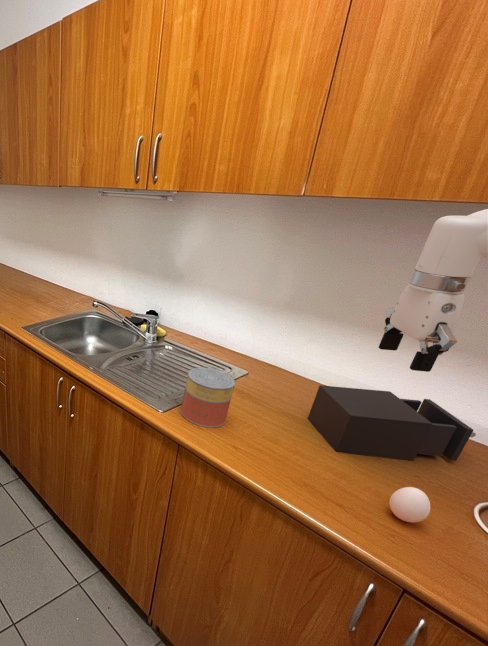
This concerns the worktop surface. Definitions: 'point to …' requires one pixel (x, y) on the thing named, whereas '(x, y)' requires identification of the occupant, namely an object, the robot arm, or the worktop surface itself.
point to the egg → (410, 504)
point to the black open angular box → (441, 430)
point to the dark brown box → (368, 422)
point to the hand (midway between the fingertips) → (402, 359)
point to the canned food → (207, 397)
